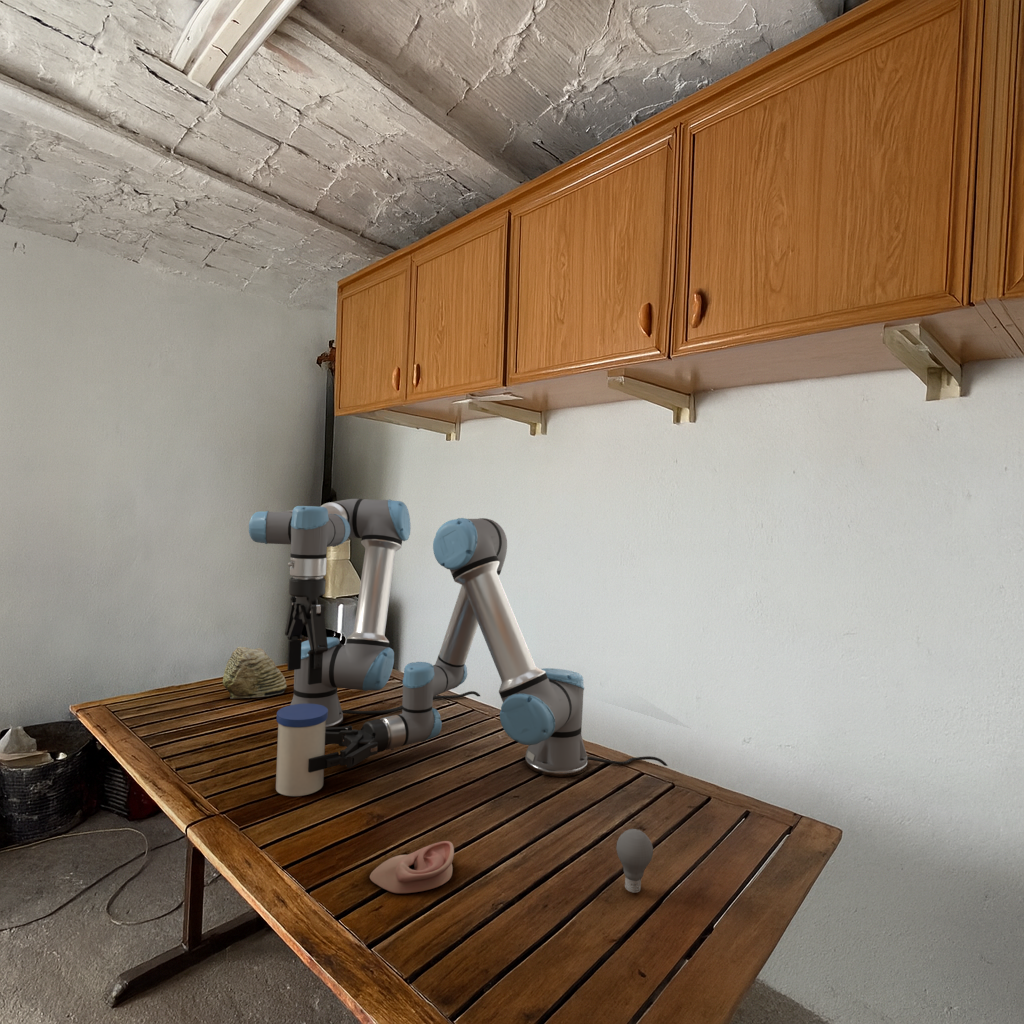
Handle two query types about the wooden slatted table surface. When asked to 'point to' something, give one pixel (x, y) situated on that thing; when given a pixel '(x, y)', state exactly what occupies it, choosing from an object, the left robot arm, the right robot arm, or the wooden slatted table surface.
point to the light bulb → (634, 857)
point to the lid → (302, 715)
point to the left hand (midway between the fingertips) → (304, 676)
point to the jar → (299, 759)
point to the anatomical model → (416, 869)
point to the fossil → (252, 674)
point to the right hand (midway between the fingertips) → (296, 755)
